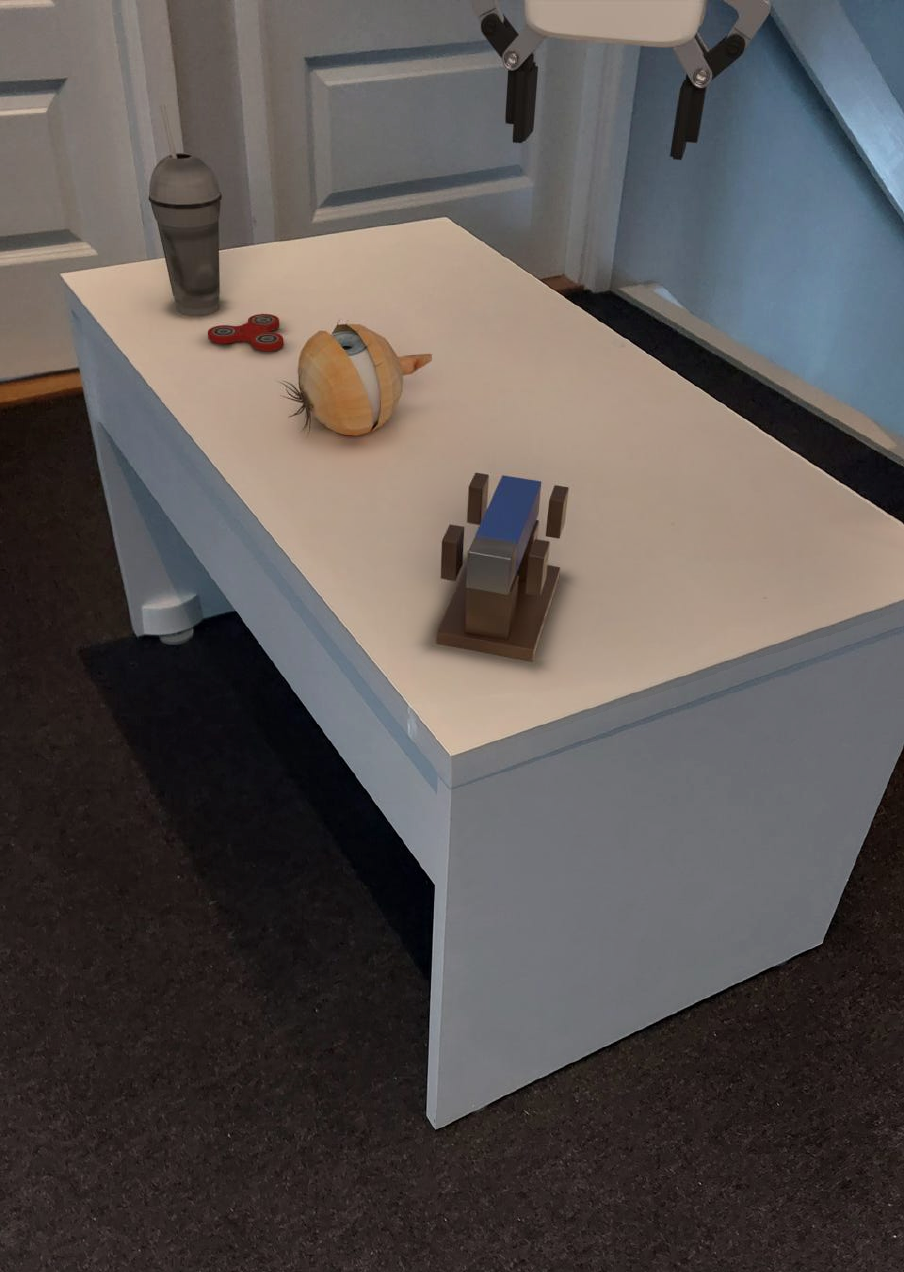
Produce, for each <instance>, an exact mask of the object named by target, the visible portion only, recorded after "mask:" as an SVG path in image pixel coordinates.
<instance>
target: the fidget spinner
mask: <svg viewBox="0 0 904 1272" xmlns="http://www.w3.org/2000/svg"><path fill="white" fill-rule="evenodd" d="M278 328H280V319H279V317H278V316H277V315H274V314H270V313H258V314H253V315H251V316H249V318H247V322H245V323H243V324H242V325H231V324H230V325H229V324H220V325H215V326H212V327H210V328H209V329H208V330H207V338H208V340H209V341H210V342H212V343H215V344H230V343H234V342H245V343H249V344H250V345H251V347H252V348H253V349H255V350H258V351H263V352H270V351H276V350H280V349H281V348H283V346H284V343H285V341H284V337H283V336H282V334H279V333H276V332H272V331H274V330H276V329H278Z"/></svg>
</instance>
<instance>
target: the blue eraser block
mask: <svg viewBox="0 0 904 1272" xmlns="http://www.w3.org/2000/svg"><path fill="white" fill-rule="evenodd" d="M541 491H542V481H541V480H535V479H528V478H523V477H516V476H510V475H501V478H500V480H499V482H498V483H497V485H496V488H495V490H494V493H493V495H492V497H491V499H490V502H489V503H488V505H487V511H486V513H485V515H484V517H483V519H482V522H481V524H480V525H478V528H477V531H476V532H475V536H474V538H473V540H472V541H471V545H469V546H470V547H469V549H468V551H467V559H466V560H467V563H466V566H467V579H466V587H467V588H472V589H478V590H484V591H489V592H495V593H500V594H506V595H508V594H509V591H510V589H511V586H512V583H513V581H514V578H515V576H516V573H517V570H518V568H519V565H520V563H521V560H522V557H523V555H524V552H525V549H526V547H527V544H528V541H529V539H530V536H531V533H532V531H533V528H534V525H535V523H536V520H538V517H539V511H540V501H541V493H542V492H541Z"/></svg>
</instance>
